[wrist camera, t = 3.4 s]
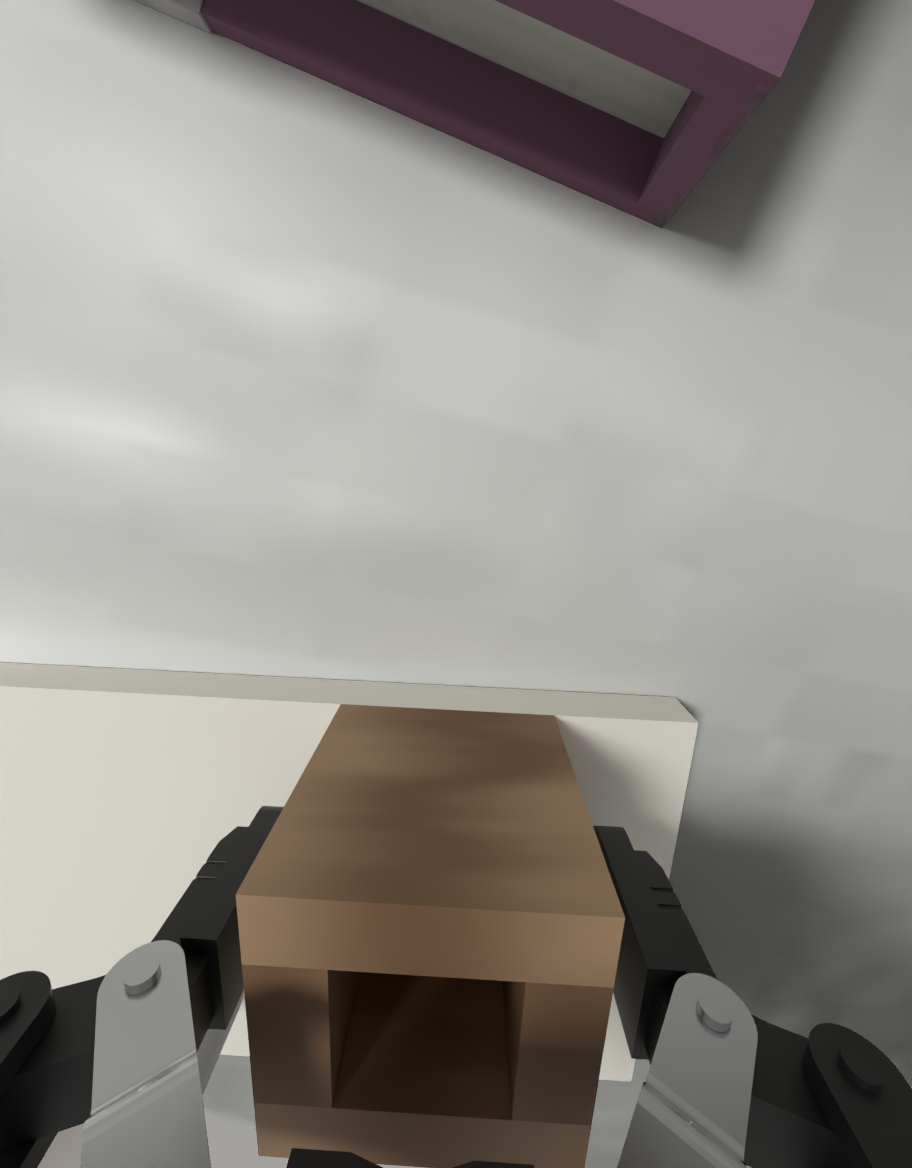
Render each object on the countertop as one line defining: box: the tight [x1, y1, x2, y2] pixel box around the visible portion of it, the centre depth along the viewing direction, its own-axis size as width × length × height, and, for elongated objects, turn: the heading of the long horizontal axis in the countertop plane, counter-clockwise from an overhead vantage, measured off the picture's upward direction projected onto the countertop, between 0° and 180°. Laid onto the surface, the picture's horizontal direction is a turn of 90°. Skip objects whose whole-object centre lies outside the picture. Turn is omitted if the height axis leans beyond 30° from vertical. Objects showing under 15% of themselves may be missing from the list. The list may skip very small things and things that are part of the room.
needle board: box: [0, 662, 698, 1095], centre depth 11 cm, size 22×14×10 cm, turn 88°
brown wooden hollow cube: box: [236, 704, 625, 1168], centre depth 11 cm, size 6×6×6 cm
